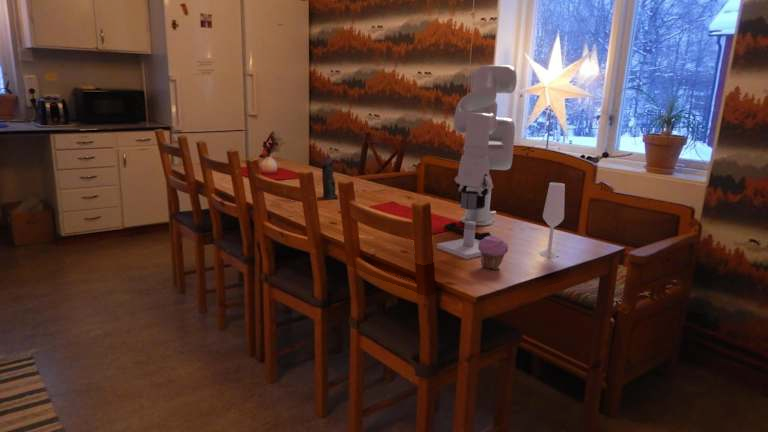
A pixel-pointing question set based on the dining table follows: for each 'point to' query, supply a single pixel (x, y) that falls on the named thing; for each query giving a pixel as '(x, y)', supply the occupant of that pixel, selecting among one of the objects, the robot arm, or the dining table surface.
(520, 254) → the dining table surface
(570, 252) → the dining table surface
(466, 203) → the steel ring
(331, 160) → the statue
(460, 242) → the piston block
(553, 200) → the champagne flute
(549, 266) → the dining table surface
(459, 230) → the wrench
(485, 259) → the cupcake
